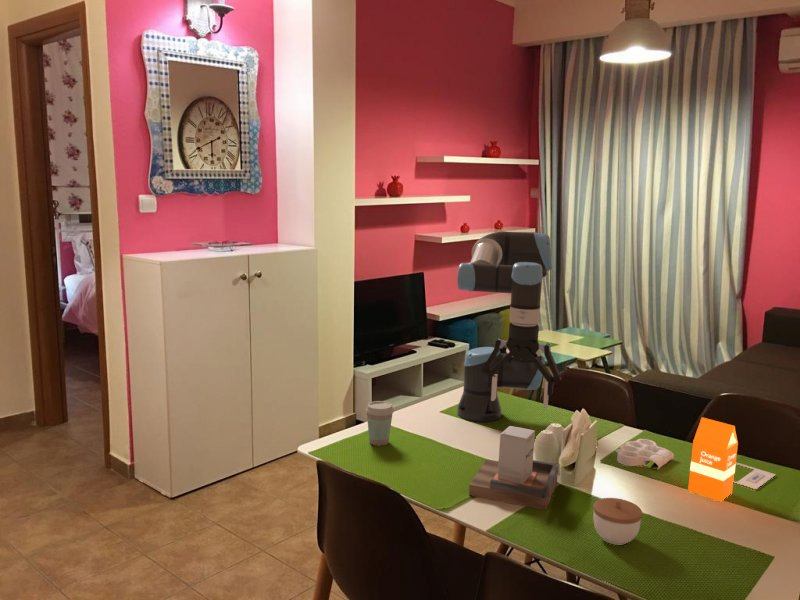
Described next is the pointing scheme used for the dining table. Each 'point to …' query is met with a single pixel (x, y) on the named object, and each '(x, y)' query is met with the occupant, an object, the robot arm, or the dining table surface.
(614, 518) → the lidded jar
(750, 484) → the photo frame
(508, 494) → the dock
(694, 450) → the orange juice
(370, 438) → the coffee cup
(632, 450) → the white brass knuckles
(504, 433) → the supplement box
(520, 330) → the robot arm
